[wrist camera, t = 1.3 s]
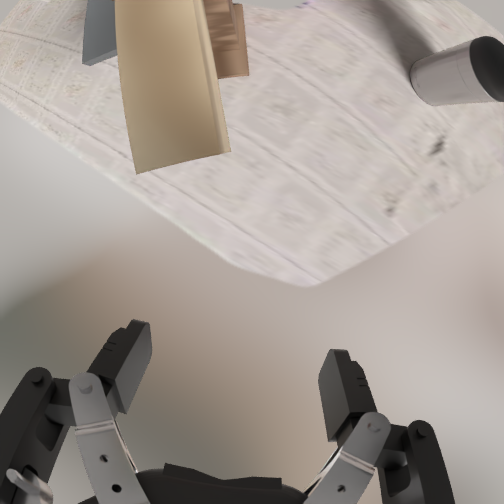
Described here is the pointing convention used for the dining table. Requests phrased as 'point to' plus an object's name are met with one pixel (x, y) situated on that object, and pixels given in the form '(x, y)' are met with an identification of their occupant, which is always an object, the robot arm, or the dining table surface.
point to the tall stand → (227, 37)
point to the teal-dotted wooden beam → (168, 82)
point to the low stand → (99, 32)
